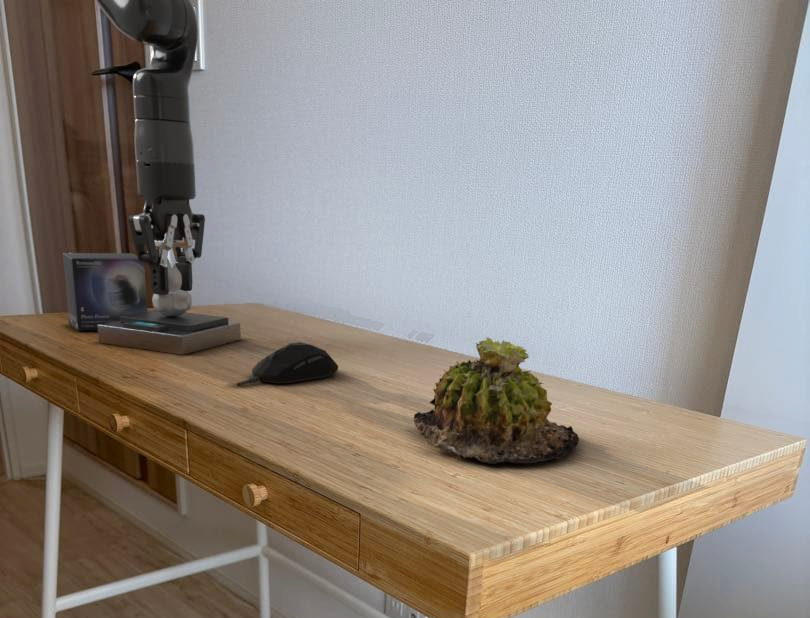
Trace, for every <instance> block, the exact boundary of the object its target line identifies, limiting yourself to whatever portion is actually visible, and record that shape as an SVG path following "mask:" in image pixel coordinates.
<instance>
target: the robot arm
mask: <svg viewBox="0 0 810 618" xmlns="http://www.w3.org/2000/svg"><path fill="white" fill-rule="evenodd" d="M95 2H96V4H98V7H99V8H100V9H101V10H102V12H103V13H104V15H105V16H106V17H107V19H109V21H110V22H111V23H112V24H113V25H114V27H115V28H116V29H117V30H118V31H119V32H120V33H122V34H123V35H124V36H126V37H127V38H128V39H130V40H132V41H134V42H135V43H139V44H142V45H145V46H150V47H152V49H151V50H152V51H151V57H150V63H149V66H148V67H145V68H141V69H139V70H137V71H135V73H134V74H133V77H132V97H133V99H132V100H133V113H134V114H133V115H134V136H133V137H134V141H133V142H134V154H135V155H134V156H135V170H136V182H137V183H136V184H137V194H138V196H140V197H141V198H143V199H144V207H143V211H142V212H141V213H139V214H130V215H129V216H128V224H129V228H130V231H131V236H132V240H133V244H134V249H135V253H136V255H137V257H138V260H139V261H144V262H145V264H147V265H148V266H149V273H150V284H151V285H150V286H151V290H152V293H153V294H158V295H167V294H168V293H169V285H168V268H167V267H164V266H166V264H167V258H169V257H168V256H169V251H171V250H172V253H173V256H174V260H175V263H174V264H175V265H176V267H177V269H178V270H179V272H180V273H181V277H182V285H181V288H180V289H181V290H184V291H186V292H191V291H192V290H193V282H194V281H193V264H194V262H195V260H196V259H199V258H201V257H202V254H203V253H202V252H203V244H204V234H205V233H204V232H205V225H206V224H205V222H206V217H205V215H204V214H203V213H194V212H192V208H191V205H190V200H194V199H196V195H197V191H196V189H197V188H196V171H195V168H196V167H195V148H194V137H193V132H192V124H191V122H192V121H191V103H190V102H191V101H190V99H191V98H190V84H191V79H192V75H193V71H194V65H195V59H196V58H195V57H196V52H197V46H198V40H199V39H198V38H199V23H198V22H199V21H198V16H197V12H196V10H195V9H196V8H195V7H194V5H193V3H192V0H95ZM144 245H145V246H144ZM192 246H193V247H194V248H192ZM145 247H146V249H147V251H146V249H145ZM158 250H159V253H158Z"/></svg>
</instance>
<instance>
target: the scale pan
mask: <svg viewBox="0 0 810 618" xmlns="http://www.w3.org/2000/svg"><path fill="white" fill-rule="evenodd" d="M130 321H136V322H144V323H151V324H159V325H167V326H168V328H170V329H177V330H185V331H195V330H200V329H204V328H208V327H213V326H217V325H222V324H226V323H229V322H228V321H229V317H226V316H219V315H212V314H203V313H196V312H195V313H194V312H187V311H186V312H185V313H184V314H182V315H180V316H165V315H162V314H160V313H158V312H157V310H156V309H153V310H147V312H142V313H136V314H131V315H125V316H120V322H124V323H125V322H130Z"/></svg>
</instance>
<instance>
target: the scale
mask: <svg viewBox="0 0 810 618" xmlns="http://www.w3.org/2000/svg"><path fill="white" fill-rule="evenodd" d="M228 322H229V323H226V324H222V325H217V326H213V327H208V328H204V329H200V330H195V331H185V330H177V329H170V328H168V326H167V325H159V324H151V323H144V322H136V321H130V322H125V323H124V322H120V321H115V322H109V323H104V324H98V325H97V327H98V330H97V335H98V337H97V338H98V343H99V344H104V345H110V346H111V345H113V346H119V347H126V348H132V349H133V348H134V349H139V350H146V351H152V352H153V351H154V352H160V353H167V354H175V355H181V356H183V355H188V354H192V353H195V352H199V351H203V350H206V349H211V348H214V347H218V346H221V345H226V344H229V343H233V342H238V341H240V340H241V339H242V338H241V337H242V336H241V335H242V334H241V322H238V321H230V320H228Z"/></svg>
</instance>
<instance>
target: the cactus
mask: <svg viewBox="0 0 810 618" xmlns="http://www.w3.org/2000/svg"><path fill="white" fill-rule="evenodd" d="M475 348H476V350H477V352H478V353H477V354H478V356H479V358H480V359H475V360H474V361H471V359H469V360H467V361H462V362H460V363H459V362H458V361H456V364H454V365H449V368H448V370H444V373H443V374H442V376H441V374H440V377H441V378H439V379H438V382H435V383H434V385H435V387H436V388H432V390H433V393H434V395H433V399H431V400H430V401H429V404H431V405H433V407H434V408H433V409H431V410H429V411H427V412H420V411H418V412H416V413H414V415H413V424H414V426H415V428H416V429H417V430H418V431H419V434H420V436H424V440H425V441H426V442H427V444H428V445H430V446H431V447H432V448H433V449H435V448H439V449H440V450H441V451H444V452H446V453H447V454H448V453H449V454H456V455H458V456H461V457H463V458H464V459H466V458H468V459H471V460H474V459H475V460H478V462H480V463H487V464H492V465H496V464H498V463H510V464H527V465H528V464H533V463H534V464H535V463H539V462H544V461H545V462H546V461H550V460H561V459H562V458H563V457H565V456H567V455H568V454H571V453H572V452H573V451H574V450H576V449H577V446H578V445H579V442H580V438H579V435H578V434H577V432H575V431H574V429H573V427H572V425H570V426H568V427H567V426H565V425H561V424H560V425H558V424H557V423H556V422H552V421H550V420H549V419H548V416H549V415H550V413H551V412H552V407H551V406H552V405H553V403H552V402H551V401H549V400H548V397H547V396H548V392H547V389H545V388H544V387H542V385H543V384H545V383H544V382H542V381H540V378H538V376H534V374H533V373H531V370H524V371H523V370H522V368H521V367H520V364H521V363H526V361H525V360H527V359H529V358H530V357H529V353H527V349H526V348H524V346H521V345H515V344H514V343H512V342H510V341H505V340H504V339H502V341H501V342H500V341H499V340H494V341H493V339H491V338H490V337H488V336H487V337H486V339H485V340H480V341H478V342H475Z"/></svg>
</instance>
